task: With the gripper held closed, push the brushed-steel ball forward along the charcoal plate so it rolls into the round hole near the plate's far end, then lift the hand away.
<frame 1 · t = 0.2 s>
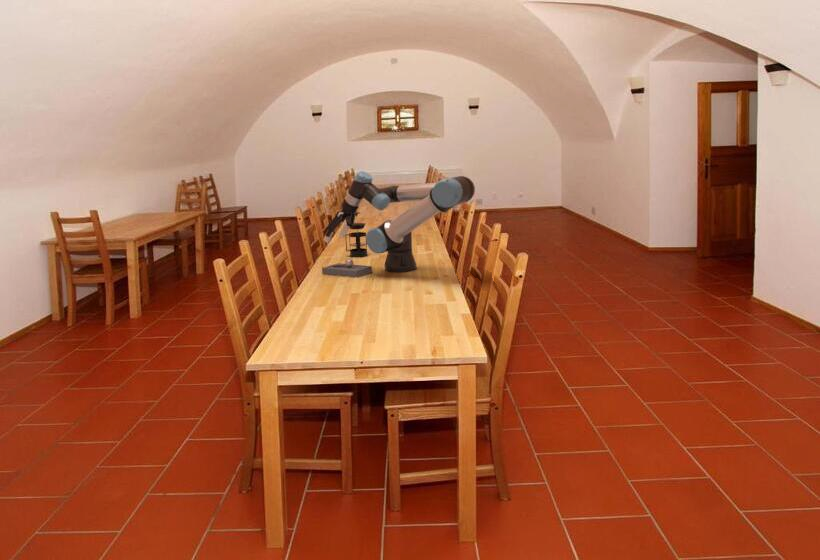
hand: (333, 238, 347), 15 cm above the table, tool tilted 35°, fingers open, 13 cm apart
ball: (349, 263, 340), point 5 cm above the table, touching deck
french press: (357, 256, 385), on the table
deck: (347, 273, 342), on the table
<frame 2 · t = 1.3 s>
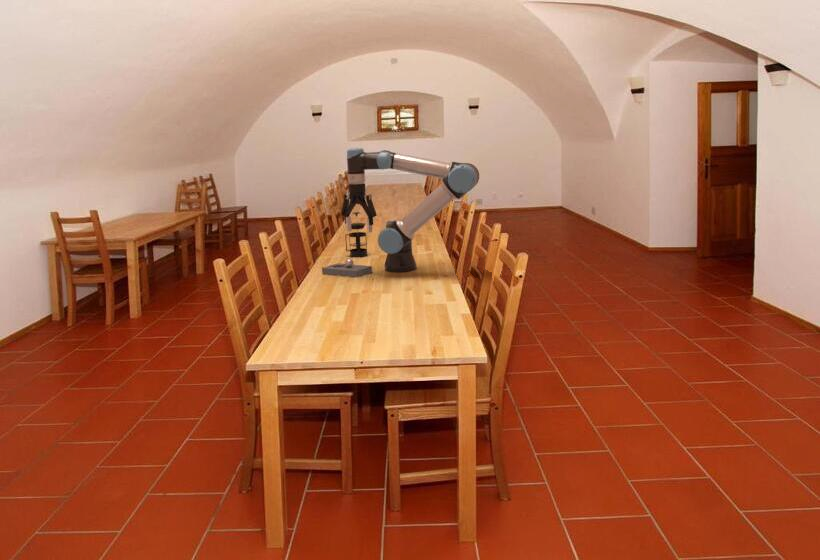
hand: (359, 231, 333), 20 cm above the table, tool pointing down, fingers open, 11 cm apart
nothing on the table moved.
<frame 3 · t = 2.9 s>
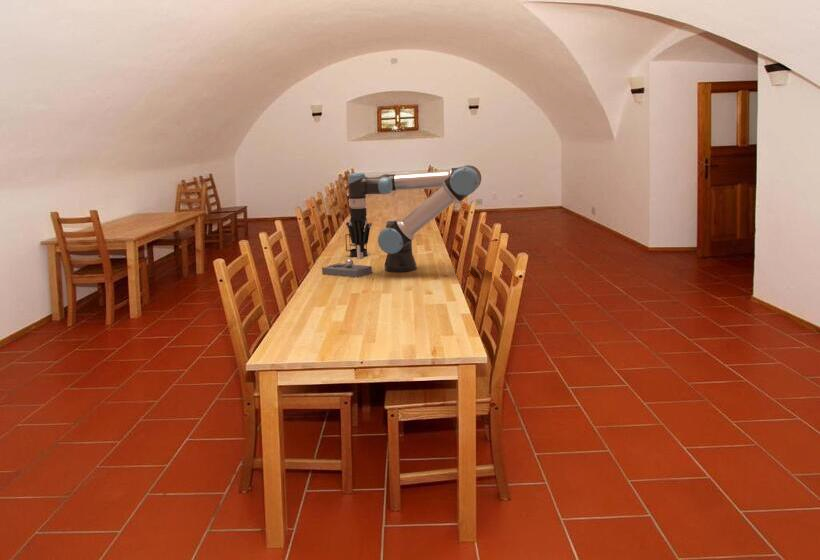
hand: (360, 258, 336), 7 cm above the table, tool pointing down, fingers closed
nothing on the table moved.
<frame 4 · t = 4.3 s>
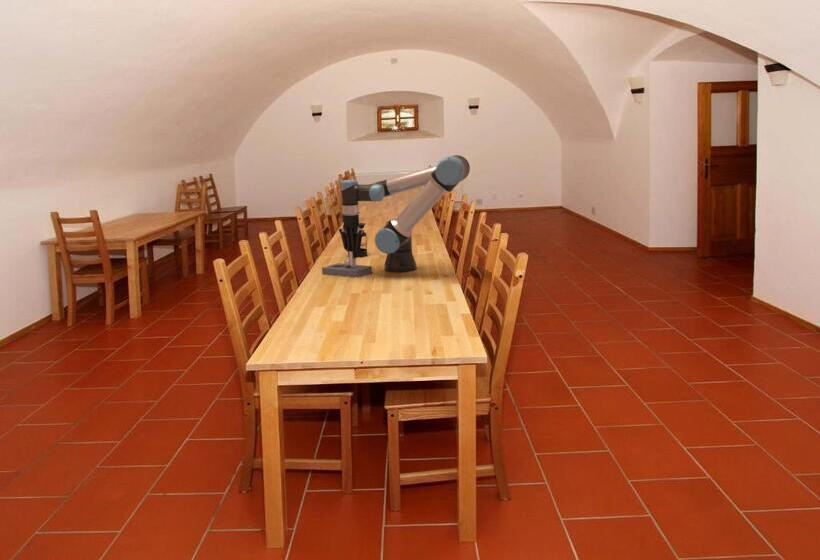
hand: (352, 264, 339), 4 cm above the table, tool pointing down, fingers closed
ball: (348, 262, 340), point 5 cm above the table, tilted 11°, touching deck, gripper
everything else where it was.
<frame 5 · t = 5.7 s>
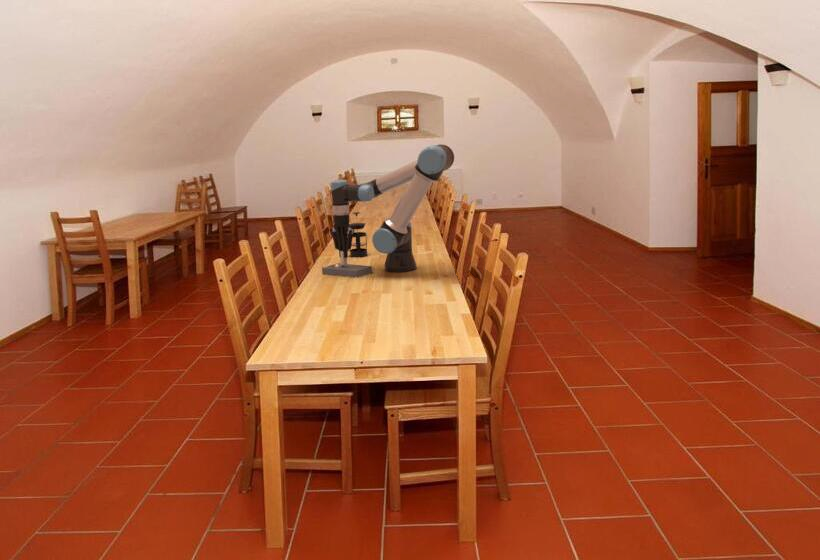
hand: (344, 264, 342), 4 cm above the table, tool pointing down, fingers closed
ball: (337, 268, 344), point 2 cm above the table, tilted 133°
everything else where it was.
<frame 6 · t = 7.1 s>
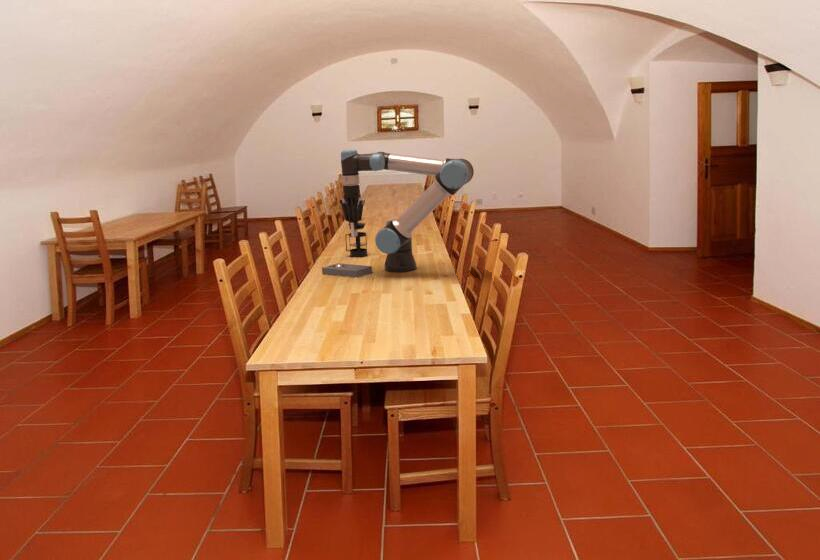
hand: (354, 236, 335), 18 cm above the table, tool pointing down, fingers closed
ball: (338, 268, 344), point 2 cm above the table, tilted 154°
everything else where it was.
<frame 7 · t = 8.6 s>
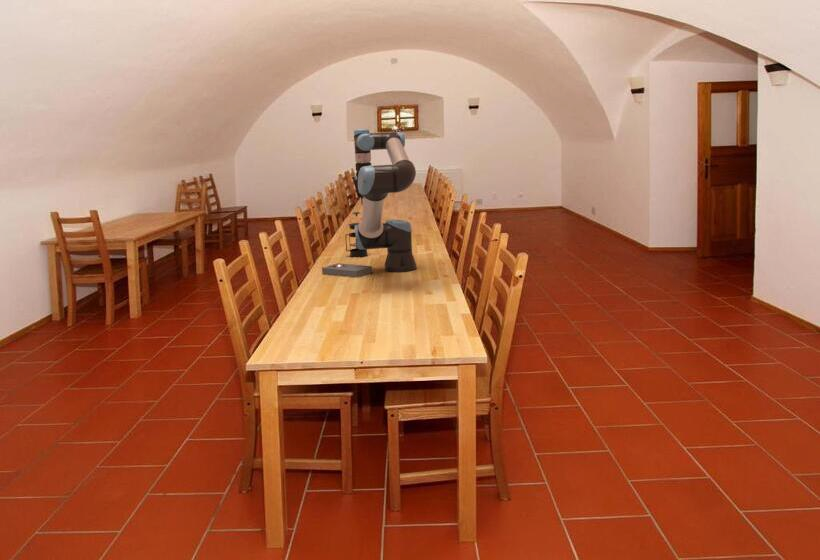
hand: (365, 211, 353), 26 cm above the table, tool pointing down, fingers closed
ball: (339, 268, 343), point 2 cm above the table, tilted 164°
everything else where it was.
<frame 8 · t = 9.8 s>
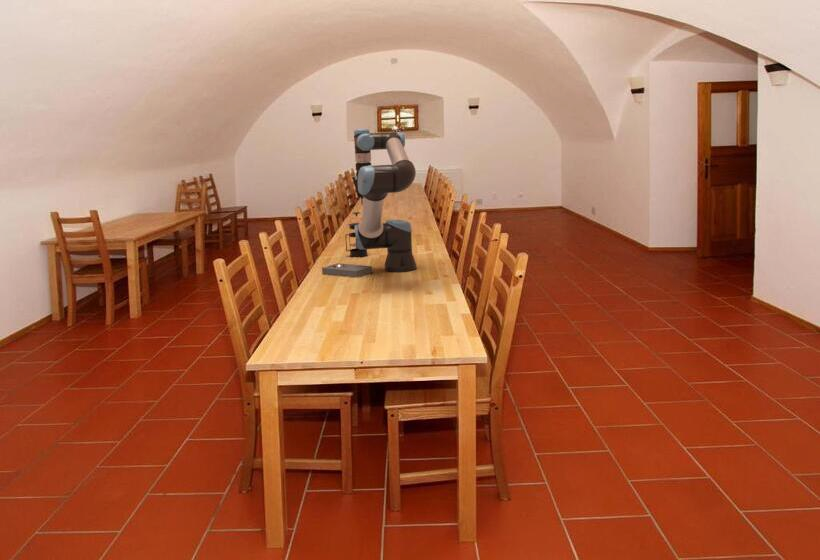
hand: (365, 211, 353), 26 cm above the table, tool pointing down, fingers closed
nothing on the table moved.
at the end: ball 0.6 cm from the target spot on the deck, point 2.0 cm above the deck's base; french press moved 0.2 cm from its start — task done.
